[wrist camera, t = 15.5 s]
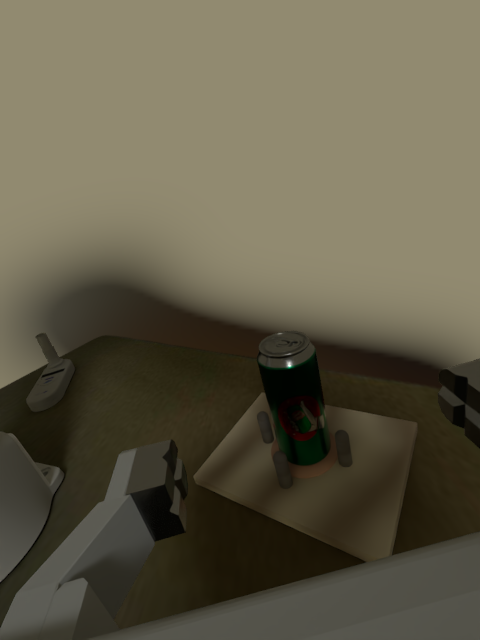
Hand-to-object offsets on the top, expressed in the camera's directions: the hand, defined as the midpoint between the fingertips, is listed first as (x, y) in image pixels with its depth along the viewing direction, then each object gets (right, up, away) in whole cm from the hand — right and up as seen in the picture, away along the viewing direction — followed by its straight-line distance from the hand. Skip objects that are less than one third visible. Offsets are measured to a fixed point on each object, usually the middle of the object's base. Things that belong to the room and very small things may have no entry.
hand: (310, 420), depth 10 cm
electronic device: (-37, -10, +51) cm, 64 cm away
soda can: (+4, -10, +22) cm, 24 cm away
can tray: (+5, -11, +22) cm, 25 cm away
